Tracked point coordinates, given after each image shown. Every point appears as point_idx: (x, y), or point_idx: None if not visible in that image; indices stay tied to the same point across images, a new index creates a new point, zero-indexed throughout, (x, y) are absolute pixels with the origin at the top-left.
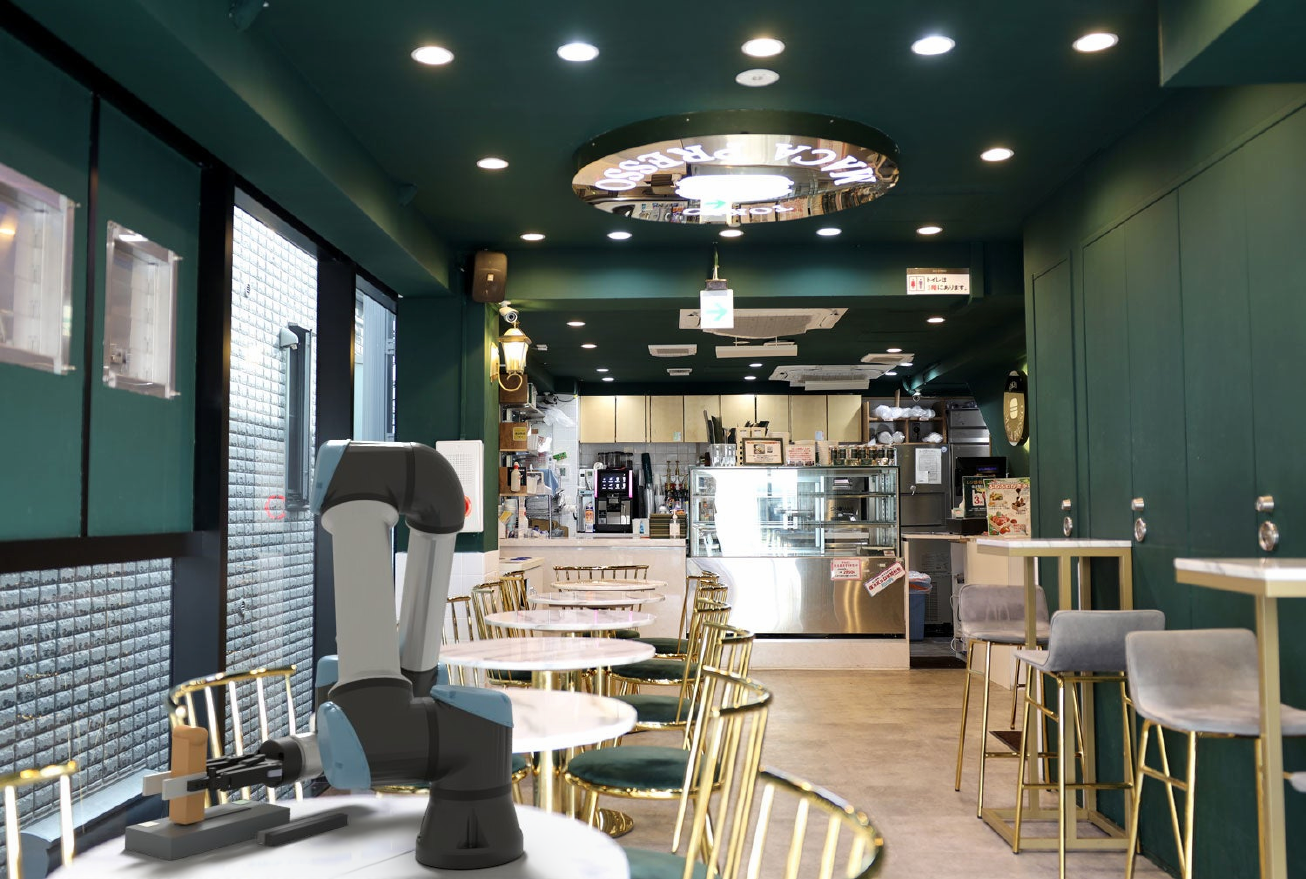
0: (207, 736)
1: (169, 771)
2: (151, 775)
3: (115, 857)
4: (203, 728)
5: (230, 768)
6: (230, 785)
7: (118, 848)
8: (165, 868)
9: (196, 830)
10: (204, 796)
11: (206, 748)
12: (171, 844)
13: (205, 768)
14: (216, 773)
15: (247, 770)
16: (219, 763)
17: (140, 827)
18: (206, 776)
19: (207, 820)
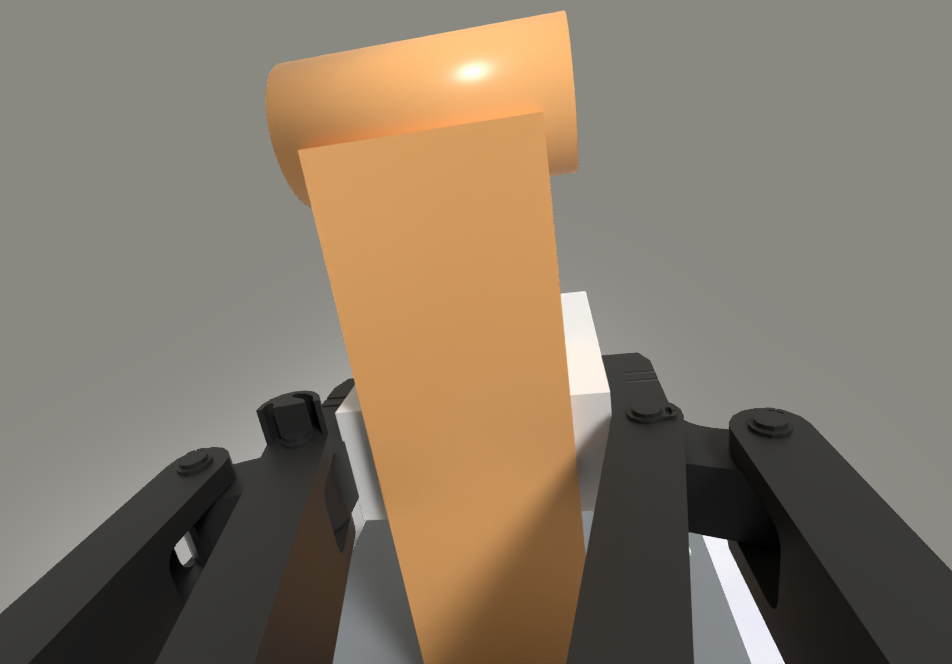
0: (277, 151)
1: (586, 343)
2: (567, 303)
3: None
4: (275, 73)
5: (237, 569)
6: (180, 565)
7: (726, 552)
8: (361, 529)
9: (359, 586)
10: (399, 560)
11: (324, 255)
12: None
13: (360, 399)
14: (267, 447)
15: (3, 616)
16: (583, 661)
17: None
18: (343, 438)
19: None
